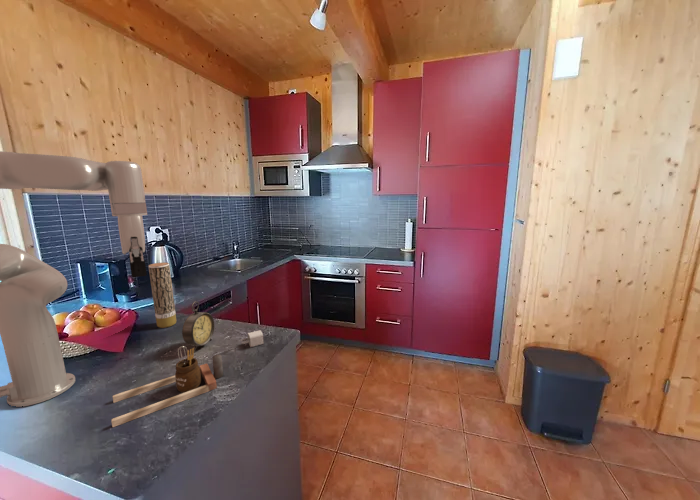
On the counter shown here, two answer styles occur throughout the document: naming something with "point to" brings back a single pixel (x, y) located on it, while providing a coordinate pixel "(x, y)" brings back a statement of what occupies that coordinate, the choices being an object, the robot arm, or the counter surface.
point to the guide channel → (157, 406)
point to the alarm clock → (198, 328)
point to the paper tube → (162, 294)
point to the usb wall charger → (254, 338)
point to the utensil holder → (187, 373)
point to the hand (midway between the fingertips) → (138, 272)
